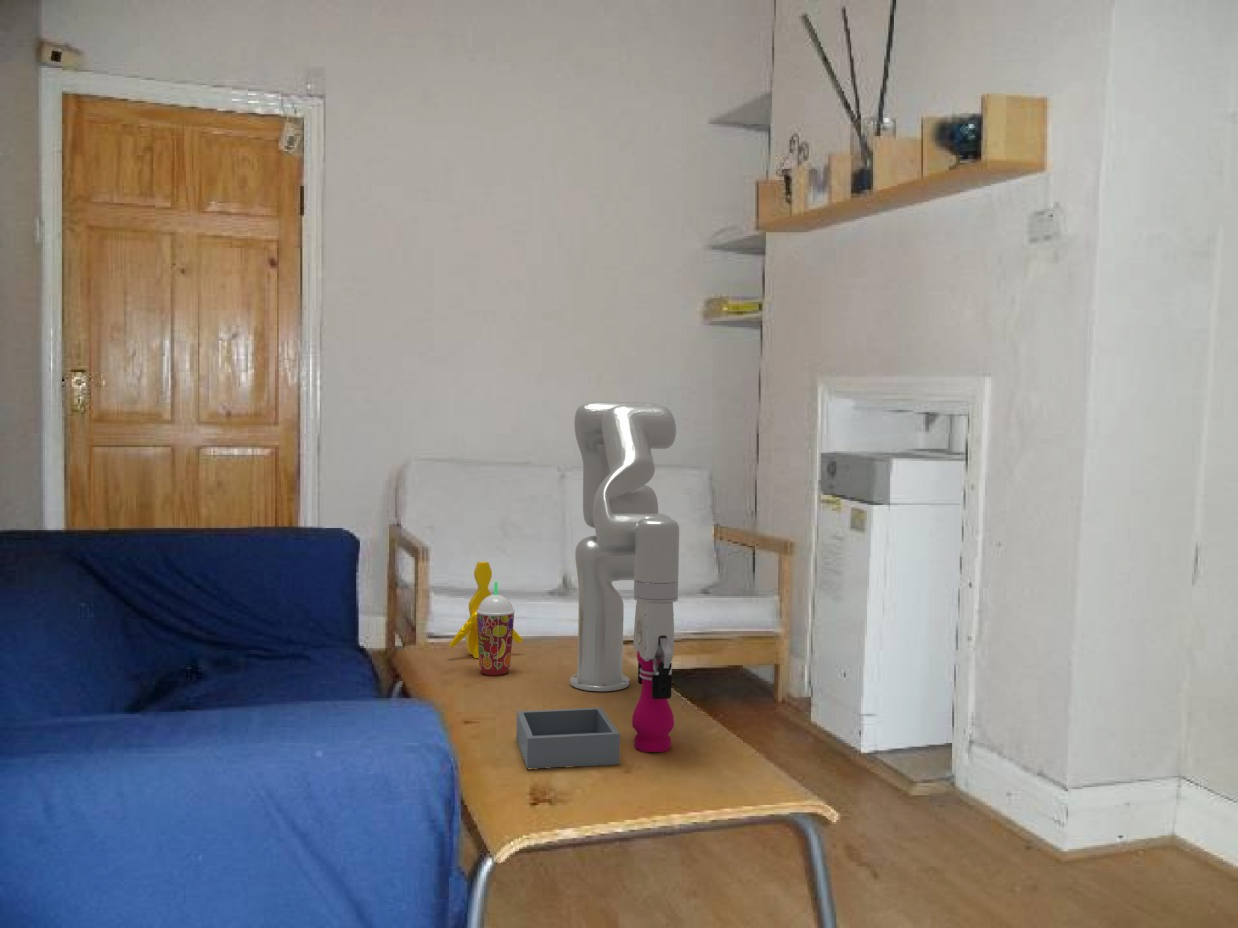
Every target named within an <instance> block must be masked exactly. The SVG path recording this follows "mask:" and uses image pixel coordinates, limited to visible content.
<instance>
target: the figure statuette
mask: <svg viewBox="0 0 1238 928" xmlns="http://www.w3.org/2000/svg"><path fill="white" fill-rule="evenodd" d="M473 575H474V580H475V582H476V585H477V590H476V591H475V593H474V594H473V595H472V597H471V599H469V602H468V611H469V618H468V619H467V620H466V622H465V623H464V624H463V625H462V626H461V628H460V629H459V630H458V632H457V633H456V635H455V636H454V638H453V639H452V640H451V641H450V643H449V644H448V646H449V647H450V648H451V649H454V648H455V647H456V646H457V645H458V644H459V643H460V642H461V641H462V640H463V639H464V638H465V637H466V638H465V643H466V645H465V646H466V649H467V651H468V654H469V655H470V654H471V655H472V657H474V659H476V658H479V650H478V628H477V613H476V611H477V609H478V608H479V606H480V603H481V602H482V601H483V600H484V599H485V598H486V597H488V596H490V595H492V593H491V592H490V590H489V585H490V582H491V580H492V577H493V572H492V568H491V565H490V563H489V562H488V561H477V563H476V565H475V568H474V572H473ZM523 640H524V639H522V637H521V636H520V634H518V632H517V631H516V630H515V629H514V628H513V636H512V641H514V642H515V643H516V644H520V643H522V642H523Z"/></svg>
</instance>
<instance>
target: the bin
mask: <svg viewBox="0 0 1238 928" xmlns="http://www.w3.org/2000/svg"><path fill="white" fill-rule="evenodd" d="M515 731H516V733H515V734H516V736H515V739H517V740H516V742H518V743H517V745H519V746H518V748H519V747H520V748H519V751H520V750H521V751H520V754H521V753H522V754H521V756H523V757H522V759H523V758H524V760H523V762H524V761H525V762H524V764H526V765H525V767H527V768H546V767H547V769H549V768H548V767H565V768H567V767H566V766H582V767H598V766H599V765H600V766H613V765H614V766H615V765H617V764H618V765H620V751H621V750H620V749H621V747H620V746H621V745H620V743H621V742H620V741H621V739H620V738H621V733H620V732H619V731H618V729H617V728H616V726H615V725H614V724H613V722H612V721H611V719H610V717H608V715H607V713H606V712H605V710H604V708H602V707H587V708H585V707H581V708H557V709H556V708H555V709H539V710H538V709H537V710H533V709H532V710H517V711H516V730H515ZM527 768H526V769H527Z"/></svg>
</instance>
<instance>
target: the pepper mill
mask: <svg viewBox="0 0 1238 928" xmlns="http://www.w3.org/2000/svg"><path fill="white" fill-rule="evenodd" d="M658 646H659V644H658ZM636 660H637V662H639V663H640V665H641V666H642V668H640V675H639V676H640V677H641V678H642V684H641V685H642V686H641V693H640V695H639V696H640V697H639V699H638V702H637V703H636V706H635V708H634V710H633V713H632V719H631V725H632V728H633V729H634V731H635V732H636V733H637V734H634V740H633V741H634V742H633V743H634V744H633V747H634V748H635V750H637V749H638V750H637V751H639V752H644V753H648V752H660V753H665V752H667V751H670V749H671V748H672V747H671V746H672V745H671V744H672V737H671V736H670V735H669V734H670V732H672V730H673V729H674V725H675V719H674V718H675V717H674V714H673V710H672V708H671V705H670V703H669V700H668V699H653V698H652V675H654V669H653V662H652V659H650V660H649V661H645V660H644V659H642V658H641V657H640V653H639V651H638V652H637V653H636ZM672 660H673V658H672V659H671V661H672ZM657 663H658V667H659V663H660V662H657ZM670 747H671V748H670ZM664 751H665V752H664Z"/></svg>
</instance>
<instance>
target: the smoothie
mask: <svg viewBox="0 0 1238 928" xmlns="http://www.w3.org/2000/svg"><path fill="white" fill-rule="evenodd" d="M493 589H494V591H493V593H494V594H491V595H490V596H488V597H486V598H485V599H484V600H483V601H482V602H481V603H480V606H479V608H478V609H477V611H476V613H477V628H478V650H479V659H478V667H479V668H480V669H481V674H484V675H485V674H486V676H503V675H505V674H507V673H508V670H509V668H511V659H512V657H511V656H512V645H513V639H512V636H513V629H514V623H515V622H514V620H515V612H516V611H515V609H514V607H513V605H512V603H511V601H510V599H508V598H507V597H505V595H502V594H498V581H494V586H493Z"/></svg>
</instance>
